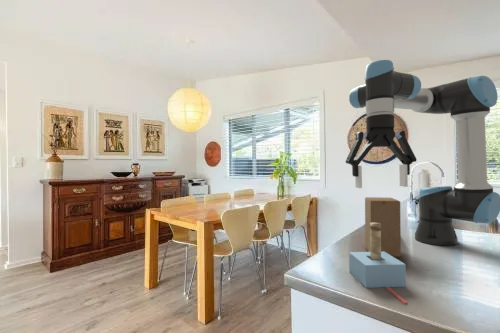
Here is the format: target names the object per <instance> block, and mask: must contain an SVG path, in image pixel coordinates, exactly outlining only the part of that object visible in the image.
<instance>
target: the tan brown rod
mask: <svg viewBox="0 0 500 333" xmlns="http://www.w3.org/2000/svg"><path fill="white" fill-rule="evenodd" d="M370 259H371V260H381V224H380V223H375V222H372V223H370Z"/></svg>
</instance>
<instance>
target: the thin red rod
mask: <svg viewBox="0 0 500 333" xmlns="http://www.w3.org/2000/svg"><path fill="white" fill-rule="evenodd" d="M385 289H386V290H387V291H388V292H389V293H390V294H392V296H394V297H395V298H397V300H398V301H400V302H401V303H402V304H403V305H408V301H407V300H406V299H404V298H403V297H402V296H401V295H399V294H398V293H397V292H395V291H394V290H393V289H392V287H385Z"/></svg>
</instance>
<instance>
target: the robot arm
mask: <svg viewBox="0 0 500 333" xmlns="http://www.w3.org/2000/svg"><path fill="white" fill-rule="evenodd" d="M394 69H395V67H394V63H393V61H392V60H389V59H379V60H375V61H372V62H371V63H370V62H369V64H367V65H366V67H365V75H364V76H365V78H364V80H365V82H364V84H363V85H358V86H357V87H355V88H352V89H351V90H350V92H349V94H348V101H349V104H350V105H351V107H353V108H355V109H363V108H365V114H366V116H367V117H366V118H365V123H366V124H365V125H366V126H365V127H366V128H365V129H366V132H364V131H358V132H356V133H355V140H354V142H353V145H352V146H351V148H350V151H349V153H348V155H347V157H346V159H345V164H347V165H351V168H352V169H351V170H352V173H351V174H352V177H355V179H354V180H355V188H357V189H363V176H362V175H363V172H362V171H363V170H362V169H363V168H362V165H360V163H362V161H363V160H364V158H365V157H366V156H367V155H368V154H369V152H370V151H371V150H372V149H373V148H378V147H379V148H382V147H383V148H384V147H385V148H386V147H387V148H388V149H389V150H390V151H391V152H392V153H393V154H394V155H395V157H396V158H397V159H398V161H400V163H401V164H398V165H399V169H398V170H399V187H403V188H407V187H409V186H408V185H409V184H408V179H409V177H408V176H410V174H411V167H410V166H411V165H412V164H413V163H416V162H417V157H416V155H415V153H414V151H413V149H412V148H411V146H410V144H409V140H408V139H407V138H406V131H405V130H400V131H399V130H398V131H397V132H396V131H395V115H394V112H395V109H402V110H412V111H413V112H415V113H420V114H421V113H422V114H433V115H434V114H435V115H436V114H437V115H440V114H441V115H443V114H444V115H445V114H450V118H451V119H453V120H454V121H455V134H456V158H457V159H456V161H457V179H458V180H457V181H458V182H457V183H456V184H455V185H454V186H453V187H452V186H451V185H444V186H431V187H427V186H426V187H422V188H420V189H419V194H418V207H419V208H418V212H419V213H418V215H419V216H418V217H419V221H418V224H417V227H416V230H415V232H414V240H416V241H418V242H419V243H420V242H421V243H425V244H427V245H436V246H456V245H458V242H459V238H458V235H457V233H456V230H455V228H454V225H453V220H458V221H466V222H472V223H475V224H478V223H479V224H485V225H486V224H491V223H493V222H495V221H496V219H497V218H498V216H499V215H500V194H499V193H498V192H495V191H494V186H492V185H491V184H490V183H489V182H488V168H487V167H488V166H487V163H488V162H487V140H486V139H487V138H486V117H487V116H488V115H489V114H490V113H491V108H492V107H494V106H496V105H497V102H498V98H499V97H498V96H499V95H498V91H497V88H496V85H495V83H494V82H493V80H492V79H491V78H490V77H489V76H486V75H478V76H472V77H467V78H463V79H460V80H456V81H453V82H449V83H444V84H440V85H435V86H433V87H426V88H424V87H422V82H421V79H420V78H419V77H418V76H416V75H413V74H412V73H404V72H399V71H396V70H394ZM365 138H366V140H367V141H366V143H365V144H364V146H363V148H361V145H362V143H363V141H364V140H365ZM394 138H395V139H396V140H397V142H398V145H399V146H400V147H399V146H398V145H397V142H396V141H395V140H394ZM360 148H361V149H360ZM359 150H360V151H359ZM358 152H359V153H358Z"/></svg>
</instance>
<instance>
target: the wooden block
mask: <svg viewBox="0 0 500 333" xmlns="http://www.w3.org/2000/svg"><path fill="white" fill-rule="evenodd" d="M372 222H375V223H380V224H381V252H382V251H384V252H386V253H388V254H389V255H391V256H393V257H394V258H400V257H401V250H402V249H401V248H402V246H401V245H402V244H401V240H402V239H401V238H402V237H401V236H402V235H401V201H400V200H398V199H396V198H393V197H379V196H378V197H376V196H375V197H373V196H371V197H370V196H369V197H367V196H366V197H365V198H364V224H365V225H364V229H365V231H364V232H365V233H364V234H365V237H364V238H365V240H364V243H365V244H364V245H365V248H366V250H367V252H370V223H372Z"/></svg>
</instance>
